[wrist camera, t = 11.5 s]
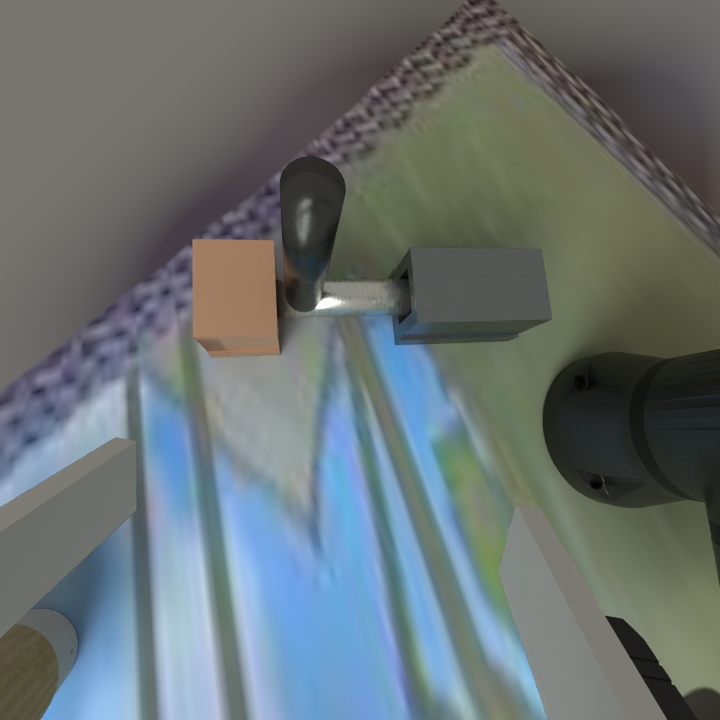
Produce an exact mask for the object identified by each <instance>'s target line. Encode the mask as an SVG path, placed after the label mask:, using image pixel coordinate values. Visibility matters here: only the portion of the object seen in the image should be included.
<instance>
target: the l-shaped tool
mask: <svg viewBox="0 0 720 720" xmlns="http://www.w3.org/2000/svg"><path fill="white" fill-rule="evenodd" d="M345 192H346V187H345V182H344V179H343V177H342V175H341V173H340V172H339V170H338V169H337V168H336V167H335V166H334V165H332V164H331V163H330V162H328V161H326V160H324V159H321V158H317V157H302V158H299V159H296V160H294V161H292V162H291V163H290V164H288V165H287V166H286V168H285V169H284V170H283V172H282V175H281V178H280V201H281V223H282V244H283V266H284V280H276V304H277V318H310V317H355V316H400V315H410V314H411V313H412V310H411V299H410V289H409V279H326V276H327V271H328V267H329V263H330V258H331V254H332V250H333V245H334V241H335V236H336V232H337V228H338V223H339V219H340V215H341V210H342V206H343V202H344V197H345Z"/></svg>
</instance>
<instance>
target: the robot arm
mask: <svg viewBox="0 0 720 720" xmlns="http://www.w3.org/2000/svg"><path fill="white" fill-rule="evenodd" d="M543 428H544V436H545V441H546V445H547V448H548V451H549V453H550V456H551V458H552V460H553V462H554V464H555V466H556V467H557V469H558V471H559V472H560V473H561V475H562V476H563V477H564V478H565V480H566V481H567V482H568V483H569V484H570V485H571V486H572V487H574V488H575V489H576V490H577V491H579V492H580V493H582V494H583V495H585V496H587V497H588V498H591V499H593V500H595V501H598V502H602V503H606V504H610V505H614V506H619V507H626V508H642V507H648V506H654V505H659V504H665V503H671V502H676V501H682V500H694V501H700V502H705V504H706V510H707V516H708V520H709V525H710V531H711V539H712V545H713V551H714V556H715V562H716V568H717V574H718V579H719V585H720V349H717V350H712V351H707V352H702V353H696V354H690V355H685V356H681V357H675V358H669V359H666V358H659V357H652V356H645V355H638V354H631V353H623V352H609V353H602V354H598V355H593V356H589V357H586V358H582V359H580V360H577V361H575V362H574V363H572V364H570V365H569V366H568V367H566V368H565V369H564V370H563V371H562V372H561V373H560V374H559V375H558V376H557V378H556V379H555V381H554V382H553V384H552V386H551V388H550V390H549V392H548V395H547V398H546V401H545V406H544V413H543ZM135 511H136V441H133V440H127V439H120V438H114V439H112V440H110V441H109V442H107V443H106V444H104V445H102V446H101V447H99V448H97V449H96V450H94V451H92V452H91V453H89V454H87V455H86V456H84V457H82V458H81V459H79V460H78V461H76V462H74V463H73V464H71V465H69V466H68V467H66V468H64V469H63V470H61V471H59V472H58V473H56V474H54V475H53V476H51V477H49V478H48V479H46V480H45V481H43V482H41V483H40V484H38V485H36V486H35V487H33V488H31V489H30V490H28V491H26V492H25V493H23V494H21V495H20V496H18V497H17V498H15V499H13V500H12V501H10V502H8V503H7V504H5V505H3V506H2V507H0V638H1V637H2V636H3V635H4V634H5V633H6V632H7V631H8V630H9V629H10V628H11V627H12V626H13V625H14V624H15V623H17V622H18V621H19V620H20V619H21V618H22V617H23V616H24V615H25V614H26V613H27V612H28V611H29V610H30V609H31V608H33V607H34V606H35V605H36V604H37V603H38V602H39V601H40V600H41V599H42V598H43V597H44V596H45V595H46V594H47V593H49V592H50V591H51V590H52V589H53V588H54V587H55V586H56V585H57V584H58V583H59V582H60V581H61V580H62V579H64V578H65V577H66V576H67V575H68V574H69V573H70V572H71V571H72V570H73V569H74V568H75V567H76V566H77V565H78V564H80V563H81V562H82V561H83V560H84V559H85V558H86V557H87V556H88V555H89V554H90V553H91V552H92V551H93V550H94V549H96V548H97V547H98V546H99V545H100V544H101V543H102V542H103V541H104V540H105V539H106V538H107V537H108V536H109V535H110V534H112V533H113V532H114V531H115V530H116V529H117V528H118V527H119V526H120V525H121V524H122V523H123V522H124V521H125V520H127V519H128V518H129V517H130V516H131V515H132V514H133V513H134V512H135ZM499 576H500V579H501V582H502V585H503V588H504V591H505V594H506V597H507V600H508V603H509V606H510V609H511V612H512V615H513V618H514V621H515V624H516V627H517V630H518V633H519V636H520V639H521V642H522V645H523V648H524V651H525V654H526V656H527V659H528V662H529V665H530V668H531V671H532V674H533V677H534V680H535V683H536V686H537V689H538V692H539V695H540V698H541V701H542V704H543V707H544V710H545V713H546V716H547V719H548V720H698V719H697V718H696V717H695V715H694V714H693V712H692V711H691V709H690V708H689V706H688V705H687V703H686V702H685V700H684V699H683V697H682V696H681V694H680V693H679V691H678V690H677V688H676V687H675V685H672V683H671V679H670V678H669V676H668V675H667V673H666V672H665V670H664V669H663V667H662V666H660V665H659V661H658V660H657V658H656V657H655V655H654V654H653V652H652V651H651V649H650V648H649V646H648V645H647V643H646V642H645V640H644V639H643V638H642V637H641V636H640V635H639V634H638V633H637V632H636V631H635V630H634V629H633V628H632V627H631V626H630V625H629V624H628V623H627V622H626V621H625V620H623V619H621V618H615V617H610V616H605V615H604V614H603V612H602V610H601V609H600V607H599V605H598V604H597V602H596V600H595V599H594V597H593V595H592V594H591V592H590V590H589V589H588V587H587V585H586V584H585V582H584V580H583V579H582V577H581V575H580V574H579V572H578V570H577V569H576V567H575V565H574V564H573V562H572V560H571V559H570V557H569V555H568V554H567V552H566V550H565V549H564V547H563V545H562V544H561V542H560V540H559V539H558V537H557V535H556V534H555V532H554V530H553V529H552V527H551V525H550V524H549V522H548V520H547V519H546V517H545V515H544V514H543V512H542V511H541V509H540V508H539V507H533V506H527V505H521V504H516V507H515V511H514V515H513V518H512V522H511V526H510V530H509V534H508V538H507V542H506V546H505V550H504V554H503V558H502V562H501V566H500V570H499Z"/></svg>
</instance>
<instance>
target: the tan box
mask: <svg viewBox="0 0 720 720" xmlns="http://www.w3.org/2000/svg"><path fill="white" fill-rule="evenodd" d="M276 280H277V268H276V259H275V248H274V240H216V239H193V338H194V339H195V340H196V341H197V342H198V343H200V344H201V345H202V346H203V347H204V348H205V349H206V350H207V351H208V354H209V355H210V356H211V357H231V356H257V355H280V340H279V318H277V304H276Z"/></svg>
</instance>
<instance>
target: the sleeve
mask: <svg viewBox="0 0 720 720" xmlns="http://www.w3.org/2000/svg"><path fill="white" fill-rule="evenodd" d="M389 279H409V289H410V299H411V310H412V313H411V314H410V315H400V316H392V317H393V329H394V340H395V345H413V344H441V343H468V342H496V341H509V340H512V339H514V338H517V337H519V335H518V334H519V333H521V332H523V331H526V330H528V329H530V328H533V327H535V326H537V325H540V324H542V323H545V322H547V321H549V320H552V314H551V308H550V301H549V295H548V289H547V282H546V276H545V269H544V263H543V256H542V250H541V249H512V248H410V249H409V250H408V252H407V253H406V255H405V256H404V258H403V259H402V261H401V262H400V264H399V266H398V267H397V269H394V270H393V271H392V273H391V275H390V276H389Z"/></svg>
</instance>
